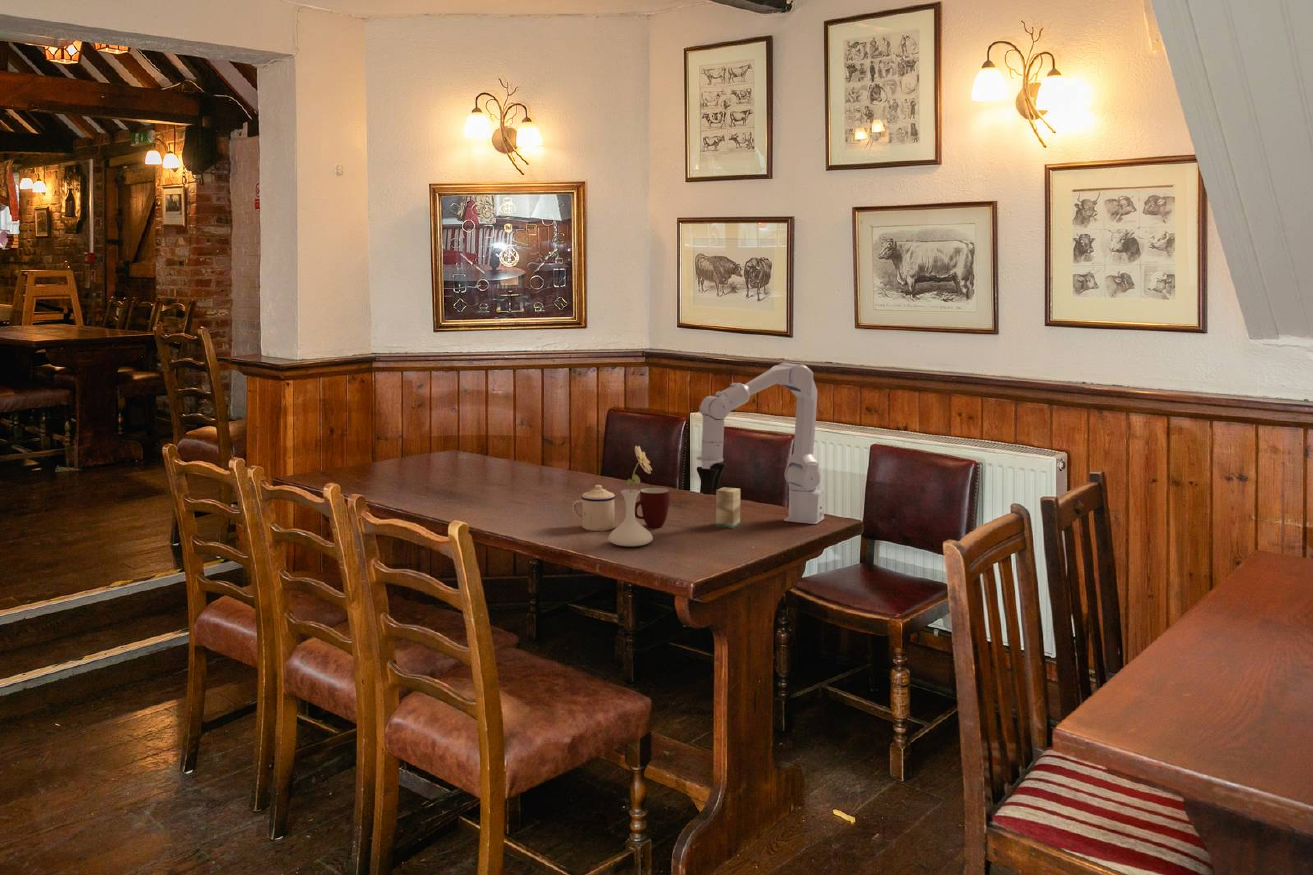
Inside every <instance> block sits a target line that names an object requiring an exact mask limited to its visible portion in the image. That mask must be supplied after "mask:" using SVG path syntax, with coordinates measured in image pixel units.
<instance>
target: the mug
mask: <svg viewBox="0 0 1313 875" xmlns="http://www.w3.org/2000/svg"><path fill="white" fill-rule="evenodd" d="M639 491H640V493H639V501H636V503H635V518H636V519H638V520H644V523H645V524H646V526H647V527H648V528H650V529H660V528H662V527H663V526H664V524H665V522H666V520H667V518H668V511H669V508H670V507H669V506H670V500H671V491H670V489H669V488H664V487H645V488H641V489H640V490H639ZM639 506H640V508H641V514H642V516H641V515H638V508H639Z"/></svg>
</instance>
